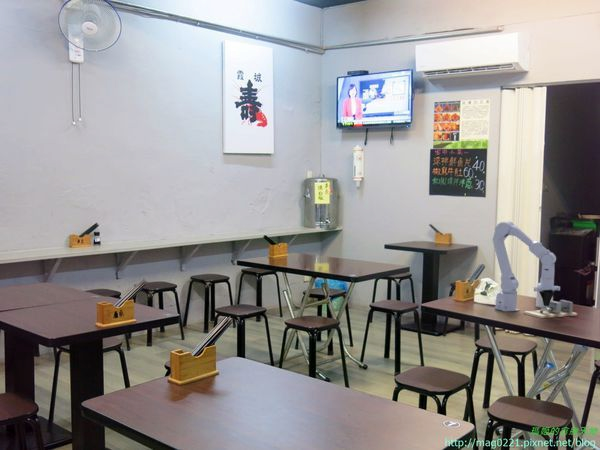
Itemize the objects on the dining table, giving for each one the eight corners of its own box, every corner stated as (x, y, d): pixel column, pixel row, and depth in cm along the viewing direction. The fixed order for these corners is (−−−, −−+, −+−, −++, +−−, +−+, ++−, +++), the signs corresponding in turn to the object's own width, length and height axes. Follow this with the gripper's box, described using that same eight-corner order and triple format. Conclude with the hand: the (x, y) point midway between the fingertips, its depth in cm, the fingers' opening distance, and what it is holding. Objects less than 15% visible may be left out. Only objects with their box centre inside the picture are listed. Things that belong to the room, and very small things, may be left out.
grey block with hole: (556, 313, 297) (556, 303, 297) (546, 310, 303) (547, 300, 303) (560, 312, 299) (561, 302, 298) (551, 310, 304) (552, 300, 304)
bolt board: (540, 318, 291) (540, 305, 290) (523, 313, 301) (524, 301, 300) (577, 315, 299) (577, 303, 299) (559, 310, 310) (560, 298, 309)
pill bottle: (555, 309, 314) (556, 279, 313) (539, 308, 314) (540, 279, 313) (549, 305, 322) (550, 277, 321) (533, 305, 322) (534, 276, 321)
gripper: (542, 279, 291) (540, 308, 292) (565, 278, 297) (564, 306, 298) (531, 277, 298) (529, 305, 299) (554, 276, 303) (553, 303, 304)
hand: (546, 305), depth 299 cm, fingers closed
